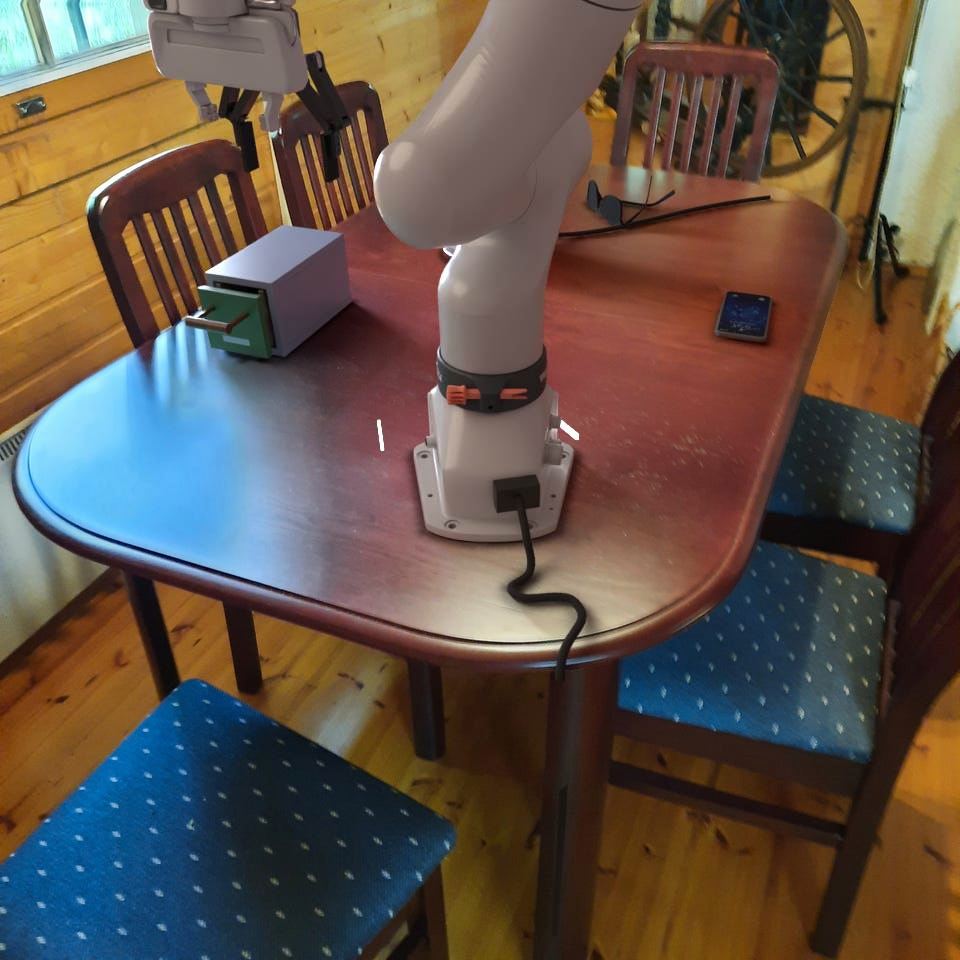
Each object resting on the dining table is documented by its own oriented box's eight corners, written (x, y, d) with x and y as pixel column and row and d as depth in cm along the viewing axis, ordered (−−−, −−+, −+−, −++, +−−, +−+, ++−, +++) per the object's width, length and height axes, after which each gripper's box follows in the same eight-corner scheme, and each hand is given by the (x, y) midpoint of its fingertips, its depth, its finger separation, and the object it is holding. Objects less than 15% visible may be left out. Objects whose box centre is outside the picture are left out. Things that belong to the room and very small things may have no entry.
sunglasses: (684, 220, 161) (688, 194, 158) (614, 230, 158) (616, 203, 155) (646, 193, 174) (648, 168, 171) (580, 201, 171) (581, 176, 168)
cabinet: (284, 356, 122) (271, 283, 115) (220, 344, 125) (204, 272, 119) (352, 301, 136) (343, 233, 129) (293, 291, 140) (282, 224, 133)
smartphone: (773, 295, 132) (766, 339, 121) (772, 301, 133) (765, 345, 121) (725, 289, 134) (713, 331, 123) (724, 295, 135) (712, 337, 123)
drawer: (245, 377, 115) (232, 315, 110) (186, 365, 118) (170, 304, 113) (334, 305, 133) (326, 249, 127) (280, 296, 136) (271, 241, 130)
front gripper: (310, -5, 92) (326, 129, 100) (170, -17, 100) (195, 109, 108) (272, 3, 87) (291, 144, 96) (128, -9, 95) (158, 121, 104)
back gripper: (366, 8, 110) (380, 176, 122) (206, 0, 118) (235, 159, 130) (336, 17, 104) (354, 192, 117) (171, 8, 112) (204, 173, 125)
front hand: (239, 125), depth 102 cm, fingers open, 8 cm apart
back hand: (291, 175), depth 124 cm, fingers open, 13 cm apart
